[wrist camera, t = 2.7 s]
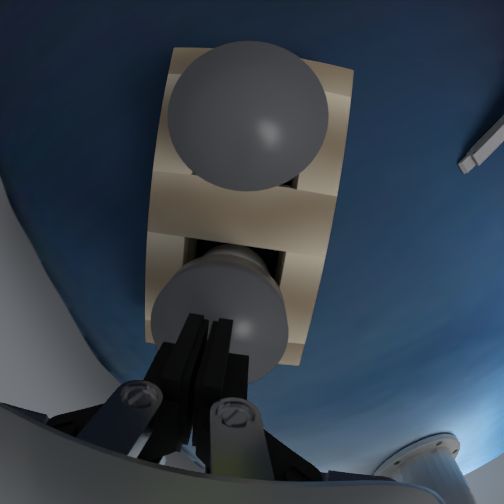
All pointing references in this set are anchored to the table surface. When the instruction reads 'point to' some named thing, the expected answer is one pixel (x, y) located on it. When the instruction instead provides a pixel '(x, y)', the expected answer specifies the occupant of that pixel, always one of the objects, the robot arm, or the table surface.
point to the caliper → (483, 147)
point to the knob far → (227, 304)
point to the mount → (249, 209)
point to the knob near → (248, 116)
